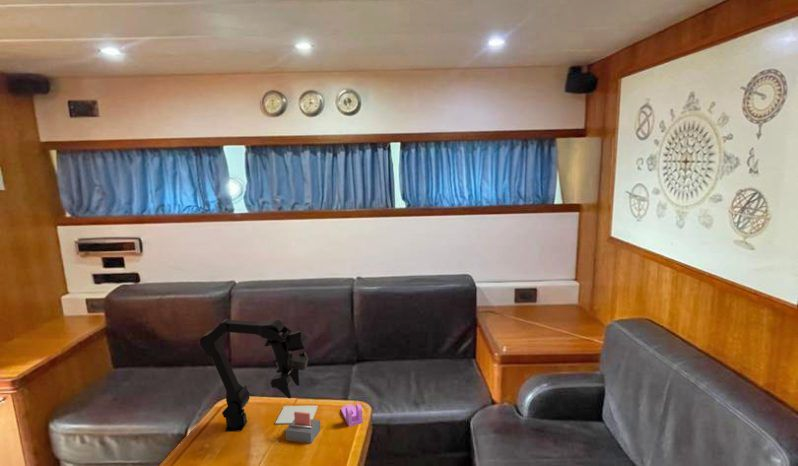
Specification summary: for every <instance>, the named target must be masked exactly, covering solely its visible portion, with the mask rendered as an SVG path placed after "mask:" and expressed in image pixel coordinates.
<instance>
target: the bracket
mask: <svg viewBox="0 0 798 466" xmlns="http://www.w3.org/2000/svg"><path fill="white" fill-rule="evenodd" d="M340 411H341V414H342V416H343V419H344V420H345V422H346V424H347V426H348V427H353V426H356V425H360V424H363V423H364V420H363V419H364V417H363V407H362V405H361V403H358V404H355V405H353V404H347V405H346V404H345V405H344V406H342V407H341V409H340Z"/></svg>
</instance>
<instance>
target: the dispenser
mask: <svg viewBox="0 0 798 466" xmlns="http://www.w3.org/2000/svg"><path fill="white" fill-rule="evenodd" d="M310 421H311V426H303V425H295V419H294V420H293V422H292V423H291V424H288V426H287V428H286V429H285V439H286V440H287V441H291V442H292V441H293V442H300V443H305V444H306V443H307V444H312V443H313V442H314V440H315V438H317V436H318V434H319V433H320V432H321V421H320V419H313V420H312V419H310Z"/></svg>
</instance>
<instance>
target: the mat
mask: <svg viewBox="0 0 798 466" xmlns="http://www.w3.org/2000/svg"><path fill="white" fill-rule="evenodd" d="M318 406H319V405H284V406H283V407H282V409H281V412H280V413H279V415H278V417H277V419H276V421H275V422H274V424H275V425H290V424H291V423H292V422H293V420H294V419H295V417H294V412H295V411H296V412H305V413H310V419H312V420H314V417H315V414H316V412H317V410H318Z"/></svg>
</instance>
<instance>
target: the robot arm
mask: <svg viewBox="0 0 798 466" xmlns="http://www.w3.org/2000/svg"><path fill="white" fill-rule="evenodd" d="M226 333H230V334H231V333H233V334H245V335H246V334H247V335H254V336H255V335H256V336H258V337H260V338H262V339H265V340H266V342H265V344H264V347H269V346H270V348H271V350H272V354H273V356H274V357H273V358H274V359H273V360H272V361H273V364H276V367H277V369H276V374H275V375H274V376H273V378H272V379H271V381H270V386H271V388H274V389H277V390H279V391H280V392H281V393H282V394H283V395H284V396H285V397H286V398H287V399H292V391H291V388H290V385H291V382H292V381H293V382H294V384H295V385H296V386H298V387H299V386H300V385H301V384H300V371H304V370H306V369H307V367H308V361H309V359H310V358H309V356H308V354H307V352H306V351H301V352H300V354H297V355H295V354H294V352H296V351H300V350H305V349H307V348H308V346H309V340H308V337H307V336H306V334H305V333H304V331H303V330H298V331H294V332H292V330H291V329H289V327H287V326H286V325H284V323H283V322H282V321H281V320H280V319H268V320H267V319H266V320H263V321H251V320H237V319H230V318H226V319H224V320H222V321H221V322H220V323H219V324H218V325H217V326H216V327H215V328H214V329H211V330H210V331H208V332H206V333H205V334H204V335H202V337H200V339H199V346H200V348H201V349H202V351H203V352H204V353H205V354H206V355H207V356H209V357H210V358H211V360H212V361H213V364H214V366H215V368H216V371H217V373H218V376H219V377H220V380H221V383H222V384H223V387H224V388H225V391H226V392H225V395H226V396H225V401H226V405H227V406H226V407H225V409H224V410H223V411H222V413H221V414H222V416H223V418H225V422H226V423H225V424H226V427H225V429H224V431H225V432H241V431H243V429H244V428H245V426H246V425H247V423H248V419H247V414H246V412H245V409H244V408H245V407H246V404H247V403H248V402H249V400H250V395H251V393H250V392H249V389H248V387H247V385H241V384H240V383H239V382H238V380H237V378H236V375H235V373H234V370H233V368H232V365H231V364H230V361H229V359H228V357H227V354H226V352H225V340H224V336H225V334H226Z"/></svg>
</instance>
